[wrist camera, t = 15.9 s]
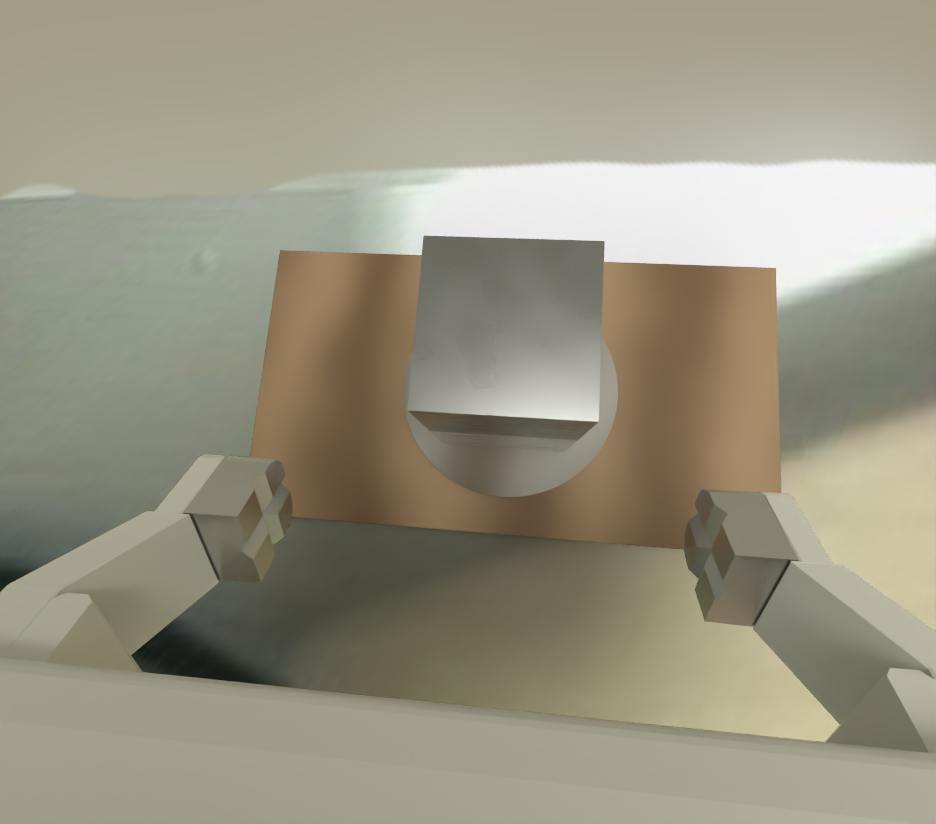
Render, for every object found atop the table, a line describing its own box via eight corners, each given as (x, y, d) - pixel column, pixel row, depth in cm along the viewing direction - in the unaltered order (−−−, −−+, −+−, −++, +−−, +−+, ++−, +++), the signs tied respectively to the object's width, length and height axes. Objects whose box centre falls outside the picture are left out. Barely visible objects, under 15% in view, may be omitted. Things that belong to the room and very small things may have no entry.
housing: (444, 443, 22) (407, 410, 14) (453, 329, 22) (423, 235, 15) (565, 451, 21) (598, 422, 13) (570, 334, 22) (604, 241, 14)
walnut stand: (281, 511, 26) (237, 512, 22) (312, 285, 28) (277, 247, 24) (737, 548, 24) (786, 558, 20) (735, 303, 26) (779, 264, 22)
